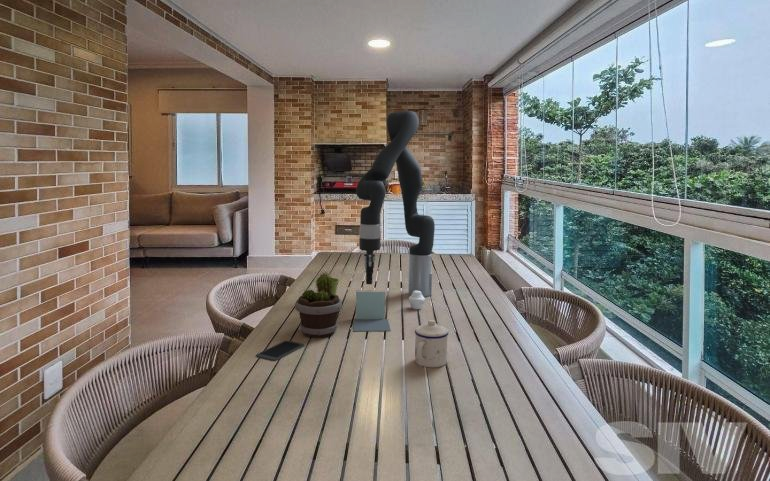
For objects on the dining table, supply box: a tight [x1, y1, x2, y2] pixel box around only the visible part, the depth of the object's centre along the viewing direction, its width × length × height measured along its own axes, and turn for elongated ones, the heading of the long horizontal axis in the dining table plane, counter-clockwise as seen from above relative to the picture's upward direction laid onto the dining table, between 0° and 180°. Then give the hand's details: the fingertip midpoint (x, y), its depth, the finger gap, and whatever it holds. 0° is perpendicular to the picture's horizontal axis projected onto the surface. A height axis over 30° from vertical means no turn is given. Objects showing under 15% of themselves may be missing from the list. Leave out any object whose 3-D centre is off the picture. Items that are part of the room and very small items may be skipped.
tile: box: [355, 289, 386, 319], centre depth 170 cm, size 10×2×10 cm, turn 94°
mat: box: [352, 318, 392, 333], centre depth 163 cm, size 12×12×1 cm
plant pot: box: [314, 277, 340, 295], centre depth 190 cm, size 9×9×9 cm
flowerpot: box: [294, 271, 343, 338], centre depth 154 cm, size 14×15×20 cm
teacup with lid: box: [414, 319, 449, 368], centre depth 131 cm, size 12×9×12 cm
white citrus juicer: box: [408, 291, 426, 310], centre depth 183 cm, size 6×6×7 cm
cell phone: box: [255, 340, 305, 362], centre depth 140 cm, size 7×14×1 cm, turn 153°
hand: (369, 283), depth 177 cm, fingers closed
